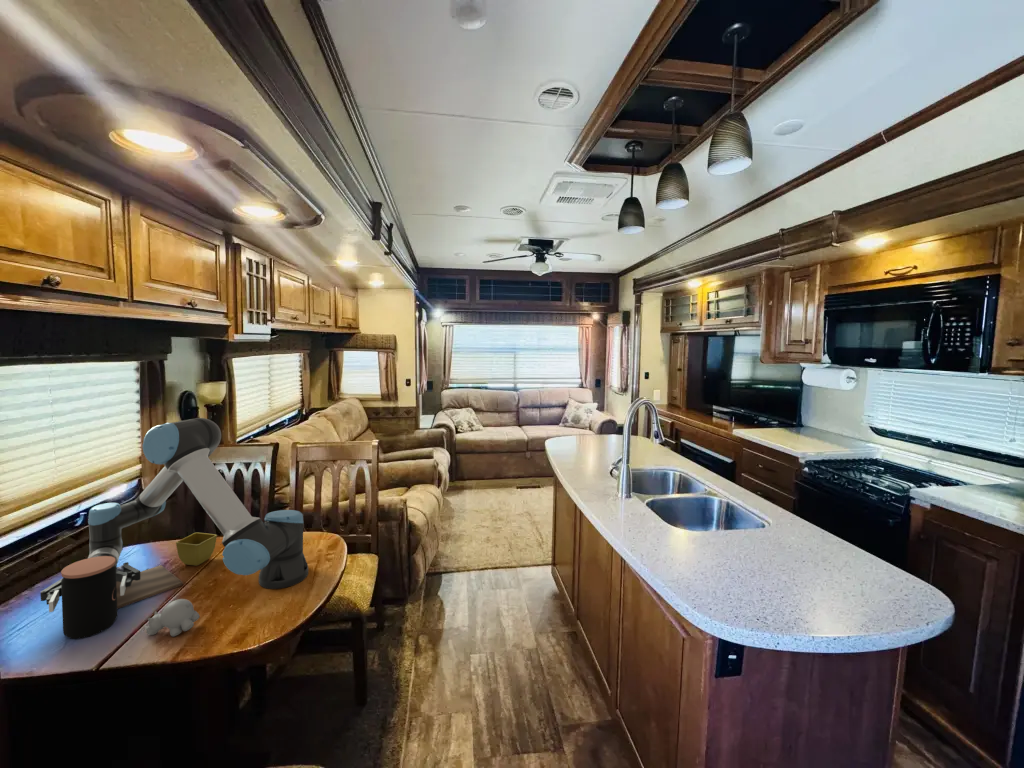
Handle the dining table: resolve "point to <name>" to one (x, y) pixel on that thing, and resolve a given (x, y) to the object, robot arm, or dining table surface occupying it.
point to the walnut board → (147, 585)
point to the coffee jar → (89, 596)
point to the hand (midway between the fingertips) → (87, 598)
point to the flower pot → (196, 548)
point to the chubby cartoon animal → (173, 618)
